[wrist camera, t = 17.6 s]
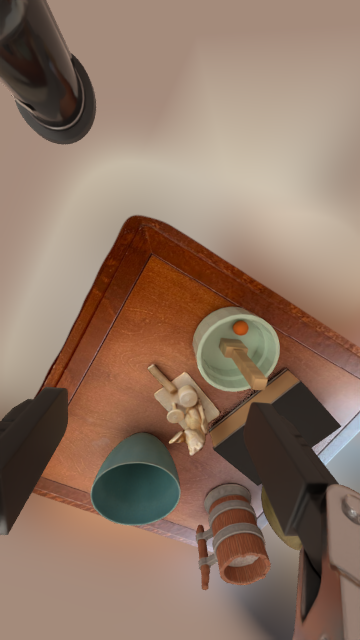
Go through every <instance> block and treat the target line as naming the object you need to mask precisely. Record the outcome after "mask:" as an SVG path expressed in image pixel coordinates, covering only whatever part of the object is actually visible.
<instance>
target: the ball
mask: <svg viewBox="0 0 360 640" xmlns="http://www.w3.org/2000/svg"><path fill="white" fill-rule="evenodd" d="M248 329H249V327H248V324H247V323H246V322H244V321H237V322H236V323H235V324H234V325H233V331H234V333H235V334H237V335H239V336H242V335H245V334H246V333H247V332H248Z"/></svg>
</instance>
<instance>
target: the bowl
mask: <svg viewBox="0 0 360 640" xmlns="http://www.w3.org/2000/svg"><path fill="white" fill-rule="evenodd" d="M237 321H244V322H246V323H247V324H248V327H249V329H248V332H247V333H246V334H245V335H242V336H239V335H237V334H235V333H234V331H233V325H234V324H235V323H236V322H237ZM221 338H228V339H238V340H241V341H242V343H243V344H244V345H245V346H246V347H247V348H248V352H247V355H248V357H249V358H250V359H251V360H252V361H253V363H254V364H255V365H256V366H257V367H258V369H259V370H260V371H261V372H262V373H263V374H264V376H265V377H266V378H267V377H268V376H269V375H270V374H271V373H272V371H273V369H274V368H275V366H276V364H277V361H278V358H279V353H280V344H279V340H278V337H277V334H276V332H275V331H274V329H273V328H272V326H271V325H270V324H268V323H267V322H266V321H265V320H263V319H262V318H260V317H259V316H257V315H255V314H254V313H252V312H251V311H248V310H246V309H244V308H239V307H227V308H221V309H219V310H216V311H214V312H212V313H211V314H209V315H208V316H207V317H205V318H204V319H203V320H202V322H201V323H200V324H199V325H198V327H197V329H196V331H195V334H194V338H193V344H192V345H193V353H194V356H195V359H196V363H197V366H198V368H199V371H200V373H201V375H202V376H203V378H204V379H205V380H206V381H207V382H208V383H209V384H211V385H212V386H214V387H215V388H218V389H221V390H224V391H233V392H236V391H243V390H247V389H250V388H251V387H250V385H249V384H248V382H247V381H246V379H245V378H244V376H243V375H242V373H241V372H240V370H239V369H238V367H237V366H236V364H235V363H234V361H233V360H232V358H225V357H224V355H223V354H222V352H221V350H220V349H219V344H220V339H221Z"/></svg>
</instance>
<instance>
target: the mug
mask: <svg viewBox="0 0 360 640" xmlns="http://www.w3.org/2000/svg"><path fill="white" fill-rule="evenodd" d="M250 503H251V495H250V493H249V491H248V490H247V489H245V488H244V487H242V486H240V485H237V484H224V485H221V486H218V487H216V488H215V489H213V490H212V491H211V492H210V493H209V494H208V496H207V497H206V499H205V503H204V506H205V509H206V511H207V513H208V514H209V519H208V520H209V526H210V529H208V530H207V531H205V532H204V528H203V526H202V525H199V526H198V528H197V531H196V541H197V544H198V549H199V568H200V570H201V574H202V589H203V590H207V589H208V583H209V573H210V566H211V565H213V564H215V563H216V562H218V565H219V570H220V575H221V578H222V579H223V580H224V581H225V582H227V583H231V584H237V585H247V584H251V583H253V582H255V581H257V580H259V579H263V578H265V577H266V576H265V575H266V574H267V572H268V571H269V570H270V562H269V558H268V555H267V553H266V550H265V545H266V544H265V540H264V537H263V534H262V532H261V530H260V529H259V528H258V526H257V517H256V514H255V511H254V509H253V507H252V506H251V505H250ZM212 537H214V539H213V543H212V544H213V550H214V554H212V555H210V556H208V553H207V545H206V542H207V540H209V539H210V538H212Z"/></svg>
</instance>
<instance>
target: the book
mask: <svg viewBox="0 0 360 640" xmlns="http://www.w3.org/2000/svg"><path fill="white" fill-rule="evenodd" d="M252 402H262V403H270V404H271V405H272V406H273V407H274V408H275V410H276V411H277V413H278V414H279V415H280V416H283V417H284V418H286V419H287V420H288V421H289V422H290V423H292V424H293V425H294V426H295V428H296V429H297V430H298V432H299V433H300V434H301V435H302V438H304V439H305V441H306V442H307V443H308V445H309V447H311V448H312V447H313V446H315V445H316V444H317V443H319V442H320V441H322V440H323V439H324V438H326V437H327V436H329V435H330V434H331V433H333V432H334V431H336V430H337V429H338V428H340V427H341V426H340V424H339V423H338V422H337V421H336V420H335V419H334V418H333V417H332V415H331V414H330V413H329V412H328V411H327V410H326V409H325V408H324V406H323V405H322V404H321V403H320V402H319V401H318V400H317V399H316V397H315V396H314V395H313V394H312V393H311V392H310V391H309V389H308V388H307V387H306V386H305V385H304V384H303V383H302V382H301V381H300V380H298V379H297V378H296V377H295V376H294V375H293V374H292V373H291V372H290V371H289V370H288V369H287V368H286V369H284V370H283V371H282V372H281V373H279V374H278V375H277V376H276V377H274V378H273V379H272V380H271V381H269V382H268V383H267V384H266V388H265V391H262V390H258V391H257V392H256V393H254V394H253V395H252V396H251V397H249V398H248V399H247V400H246V401H244V402H243V403H242V404H241V405H239V406H238V407H237V408H236V409H234V410H233V411H232V412H231V413H229V414H228V415H227V416H226V417H224V418H223V419H222V420H221V421H219V422H218V423H217V424H216V425H214V426H213V427H212V428H211V429H209V432H210V435H211V438H212V442H213V446H214V447H213V449H214V451H216V452H217V453H218V454H219V455H221V456H222V457H223V458H224V459H226V460H227V461H228V462H229V463H230V464H232V465H233V466H234V467H235V468H237V469H238V470H239V471H240V472H242V473H243V474H244V475H245V476H246V477H248V478H249V479H250V480H251V481H253V482H254V483H255V484H256V485H257V486H258V485H260V484H261V483H262V482H261V480H260V478H259V475H258V473H257V471H256V468H255V466H254V464H253V462H252V459H251V457H250V455H249V452H248V450H247V448H246V445H245V442H244V436H243V432H244V427H245V423H246V419H247V415H248V412H249V408H250V405H251V403H252Z"/></svg>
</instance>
